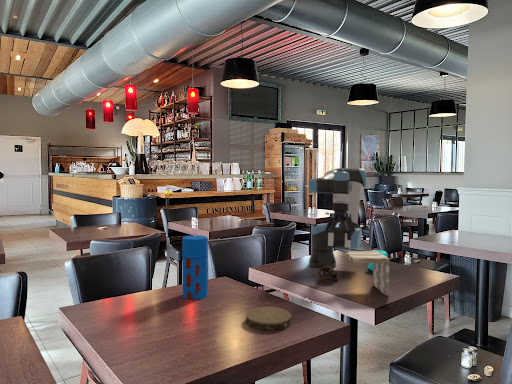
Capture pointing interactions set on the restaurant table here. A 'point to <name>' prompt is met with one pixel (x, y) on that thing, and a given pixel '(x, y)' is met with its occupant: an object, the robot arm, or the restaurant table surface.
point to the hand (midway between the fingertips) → (338, 246)
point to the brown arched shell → (327, 273)
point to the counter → (379, 267)
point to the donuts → (379, 252)
